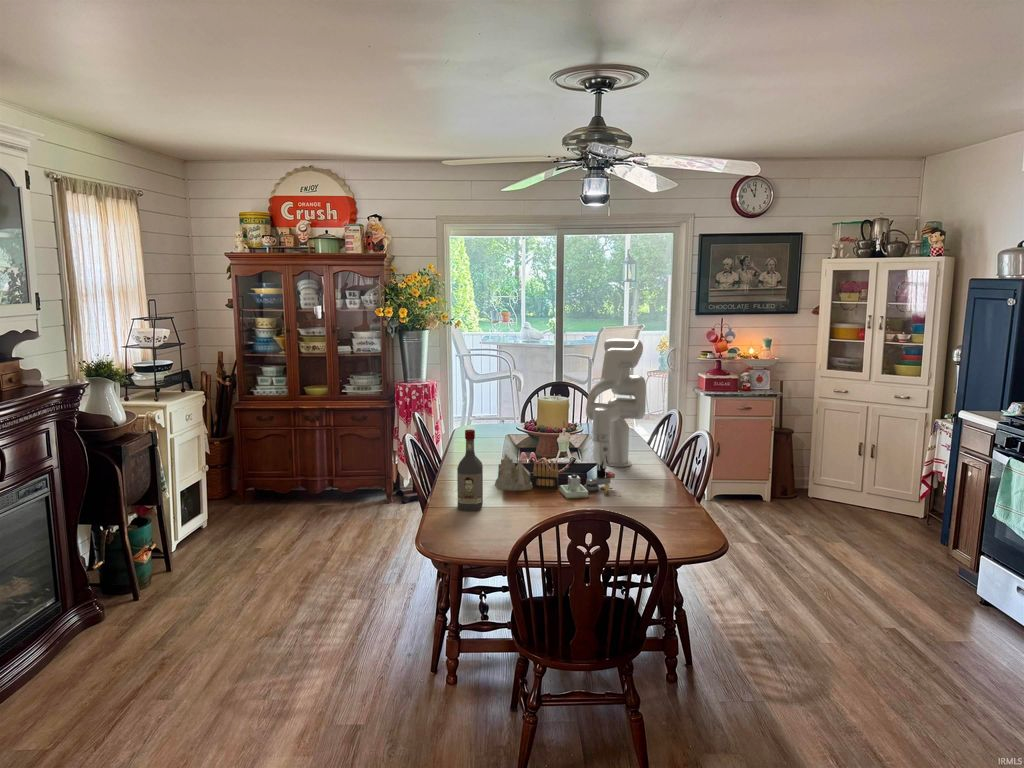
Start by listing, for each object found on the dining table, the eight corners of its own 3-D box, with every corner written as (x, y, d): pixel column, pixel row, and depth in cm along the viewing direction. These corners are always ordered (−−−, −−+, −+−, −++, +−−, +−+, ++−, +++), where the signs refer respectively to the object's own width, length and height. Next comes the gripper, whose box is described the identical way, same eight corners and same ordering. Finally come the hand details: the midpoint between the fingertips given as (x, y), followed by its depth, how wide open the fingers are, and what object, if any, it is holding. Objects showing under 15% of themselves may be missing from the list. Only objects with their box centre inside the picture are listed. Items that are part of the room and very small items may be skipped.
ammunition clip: (532, 487, 285) (532, 459, 283) (533, 486, 287) (533, 458, 285) (557, 489, 283) (558, 461, 281) (558, 487, 285) (558, 460, 283)
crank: (589, 487, 279) (589, 477, 278) (584, 484, 282) (584, 474, 282) (614, 483, 284) (614, 473, 283) (609, 480, 287) (609, 471, 287)
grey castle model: (530, 491, 280) (529, 455, 278) (491, 490, 282) (490, 454, 281) (536, 482, 295) (535, 448, 294) (498, 482, 298) (497, 448, 297)
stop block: (567, 491, 278) (568, 474, 277) (577, 490, 279) (577, 473, 278) (570, 494, 275) (570, 476, 273) (580, 493, 275) (580, 476, 274)
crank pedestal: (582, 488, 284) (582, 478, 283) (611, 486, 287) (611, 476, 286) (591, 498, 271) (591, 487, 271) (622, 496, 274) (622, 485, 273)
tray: (559, 490, 281) (559, 485, 280) (580, 489, 282) (580, 484, 282) (566, 498, 271) (566, 492, 271) (588, 497, 273) (588, 491, 272)
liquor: (459, 503, 265) (459, 427, 260) (483, 503, 265) (482, 428, 260) (457, 511, 256) (456, 433, 251) (481, 511, 256) (481, 433, 251)
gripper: (616, 441, 278) (615, 483, 282) (604, 431, 293) (603, 472, 296) (598, 442, 277) (597, 485, 280) (587, 432, 291) (587, 474, 295)
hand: (600, 478), depth 288 cm, fingers closed
